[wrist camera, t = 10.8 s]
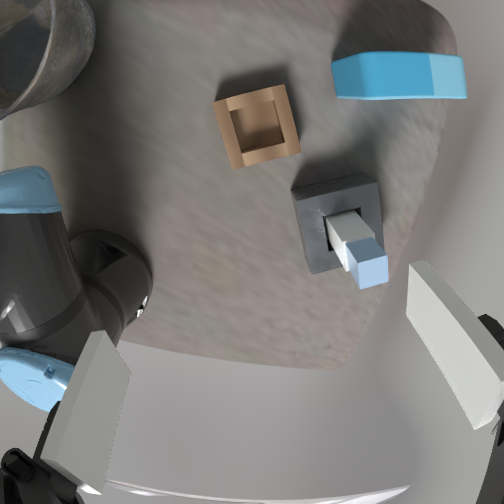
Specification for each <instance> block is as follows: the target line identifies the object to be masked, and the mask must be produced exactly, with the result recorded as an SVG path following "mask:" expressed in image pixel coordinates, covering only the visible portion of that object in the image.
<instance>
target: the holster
mask: <svg viewBox="0 0 504 504" xmlns="http://www.w3.org/2000/svg"><path fill="white" fill-rule="evenodd" d="M212 104H213V107H214V110H215V114H216V117H217V120H218V124H219V127H220V130H221V134H222V137H223V140H224V144H225V147H226V151H227V154H228V157H229V161H230V164H231V167H232V170H234V169H237V168H241V167H245V166H249V165H252V164H256V163H260V162H264V161H268V160H272V159H276V158H280V157H284V156H288V155H292V154H296V153H301V148H300V144H299V140H298V136H297V132H296V127H295V123H294V119H293V115H292V112H291V108H290V104H289V100H288V96H287V92H286V89H285V85H284V84H283V85H278V86H273V87H269V88H265V89H261V90H257V91H252V92H249V93H245V94H241V95H237V96H233V97H230V98H226V99H223V100H219V101H216V102H212Z"/></svg>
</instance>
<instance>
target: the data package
mask: <svg viewBox="0 0 504 504" xmlns="http://www.w3.org/2000/svg"><path fill="white" fill-rule="evenodd" d="M331 67H332V73H333V78H334V84H335V90H336V96H337V97H338V98H348V99H363V100H385V99H409V98H458V99H465V98H467V88H466V80H465V72H464V65H463V58H462V57H461V56H458V55H450V54H439V53H425V52H405V51H369V52H361V53H357V54H354V55H351V56H348V57H345V58H342V59H339V60H336V61H333V62H331Z"/></svg>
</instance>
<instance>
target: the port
mask: <svg viewBox="0 0 504 504" xmlns="http://www.w3.org/2000/svg"><path fill="white" fill-rule="evenodd" d="M290 191H291V195H292V199H293V203H294V208H295V212H296V216H297V221H298V225H299V230H300V234H301V239H302V244H303V248H304V253H305V258H306V260H307V263H308V266H309V268H310V271H311V274H312V275H313V274H317V273H320V272H324V271H328V270H332V269H336V268H339V267H343V265H342V263H341V261H340V259H339V258H338V256H337V254H336V252H335V250H334V249H333V247H332V245H331V243H330V241H329V240H328V238H327V236H326V230H325V225H324V219H323V216H326V215H330V214H334V213H339V212H343V211H347V210H351V209H353V210H354V211H355V212H356V213H357V214H358V215H359V216H360V217H361V218H362V220H363V221H364V222H365V223H366V224H367V225H368V226H369V228H370V229H371V230H372V231H373V232H374V233H375V241H376V242H377V243H378V244H379V246H380V247H381V248H382V249H383V250H384V238H383V226H382V215H381V205H380V196H379V188H378V182H377V181H376V180H374V179H373V178H372V177H370V176H369V175H367V174H366V173H360V174H356V175H351V176H347V177H342V178H338V179H334V180H329V181H325V182H321V183H317V184H312V185H308V186H304V187H300V188H296V189H292V190H290Z"/></svg>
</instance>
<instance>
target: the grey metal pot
mask: <svg viewBox="0 0 504 504" xmlns="http://www.w3.org/2000/svg"><path fill="white" fill-rule="evenodd" d="M95 31H96V26H95V18H94V13H93V11H92V8H91V7H90V5H89V4H88V3H87V1H86V0H0V120H2V119H3V118H5V117H6V116H8V115H10V114H12V113H15V112H17V111H19V110H22V109H25V108H29V107H33V106H36V105H38V104H41V103H43V102H45V101H47V100H50V99H51V98H53V97H55V96H57V95H58V94H59V93H61V92H62V91H63V90H64V89H66V88H67V87H68V86H69V85H70V84H71V83H72V82H73V81H74V80H75V79H76V77H77V76H78V75H79V74H80V73H81V71H82V70H83V68H84V67H85V65H86V63H87V62H88V60H89V58H90V55H91V53H92V51H93V47H94V43H95Z"/></svg>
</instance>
